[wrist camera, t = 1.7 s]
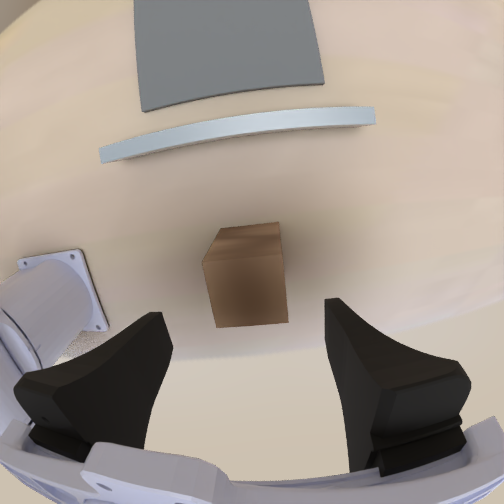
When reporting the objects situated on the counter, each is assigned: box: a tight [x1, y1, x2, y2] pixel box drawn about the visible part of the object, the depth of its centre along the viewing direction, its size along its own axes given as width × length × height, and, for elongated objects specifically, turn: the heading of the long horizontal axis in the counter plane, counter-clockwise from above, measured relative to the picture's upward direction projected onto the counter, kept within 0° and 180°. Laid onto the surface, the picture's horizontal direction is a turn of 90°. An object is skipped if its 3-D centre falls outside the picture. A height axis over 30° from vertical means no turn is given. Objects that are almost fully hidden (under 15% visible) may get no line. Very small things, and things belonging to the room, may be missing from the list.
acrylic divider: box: [99, 107, 376, 164], centre depth 16 cm, size 16×1×4 cm, turn 98°
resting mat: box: [134, 0, 325, 112], centre depth 14 cm, size 12×12×1 cm
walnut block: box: [202, 222, 289, 328], centre depth 18 cm, size 4×4×6 cm
